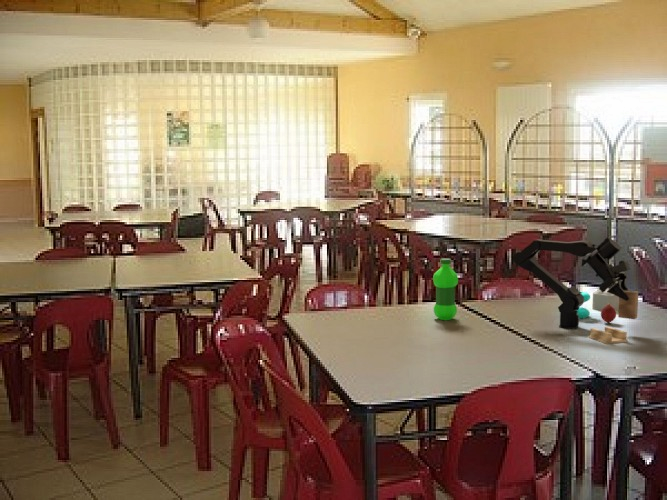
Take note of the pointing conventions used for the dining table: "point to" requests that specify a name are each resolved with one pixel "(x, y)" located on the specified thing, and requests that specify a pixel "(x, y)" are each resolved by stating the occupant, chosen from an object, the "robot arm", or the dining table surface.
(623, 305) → the brown cardboard box
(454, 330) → the dining table surface
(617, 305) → the lumpy-topped squat cylinder
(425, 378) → the dining table surface
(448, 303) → the plastic bottle
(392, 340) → the dining table surface
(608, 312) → the red rounded piece
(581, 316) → the donuts
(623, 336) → the oak base
